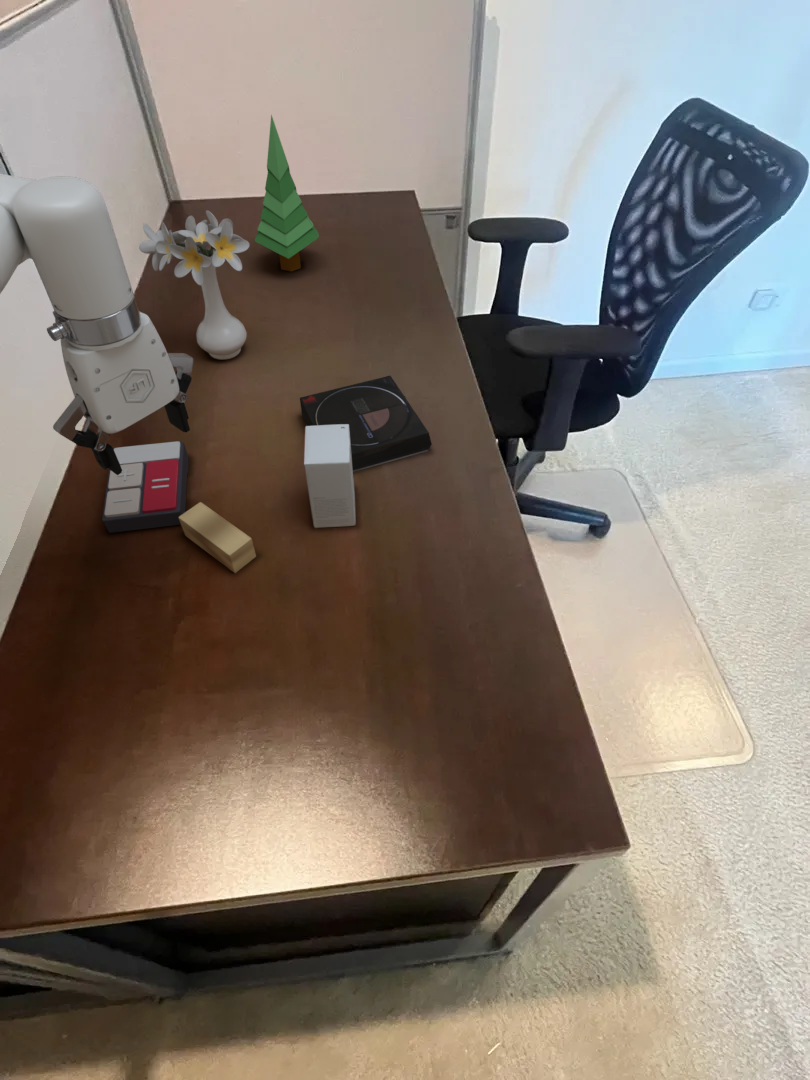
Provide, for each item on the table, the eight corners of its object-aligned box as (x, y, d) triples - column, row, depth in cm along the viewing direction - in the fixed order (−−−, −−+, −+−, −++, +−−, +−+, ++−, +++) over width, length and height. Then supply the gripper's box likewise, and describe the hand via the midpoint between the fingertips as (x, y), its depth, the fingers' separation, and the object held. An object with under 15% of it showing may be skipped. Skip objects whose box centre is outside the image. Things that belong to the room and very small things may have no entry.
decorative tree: (319, 247, 156) (305, 99, 133) (323, 281, 146) (308, 127, 123) (260, 251, 155) (236, 102, 132) (260, 285, 144) (233, 130, 122)
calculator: (99, 517, 95) (110, 444, 104) (109, 536, 98) (119, 463, 107) (178, 508, 96) (182, 436, 105) (186, 527, 100) (189, 456, 109)
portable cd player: (431, 450, 110) (432, 431, 107) (332, 477, 106) (330, 459, 103) (393, 393, 120) (393, 374, 117) (302, 416, 116) (299, 397, 113)
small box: (313, 490, 104) (304, 424, 94) (354, 488, 104) (349, 422, 94) (312, 529, 99) (303, 464, 89) (355, 527, 99) (350, 461, 89)
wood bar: (256, 556, 95) (251, 538, 92) (235, 573, 93) (229, 555, 90) (206, 520, 100) (200, 501, 97) (184, 535, 98) (178, 517, 95)
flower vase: (183, 331, 133) (146, 200, 114) (275, 334, 132) (253, 204, 113) (163, 370, 124) (120, 236, 105) (261, 374, 124) (236, 239, 105)
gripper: (41, 370, 61) (103, 502, 74) (193, 295, 70) (224, 424, 83) (-2, 340, 64) (64, 471, 77) (148, 272, 73) (185, 400, 86)
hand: (147, 447), depth 80 cm, fingers open, 9 cm apart
